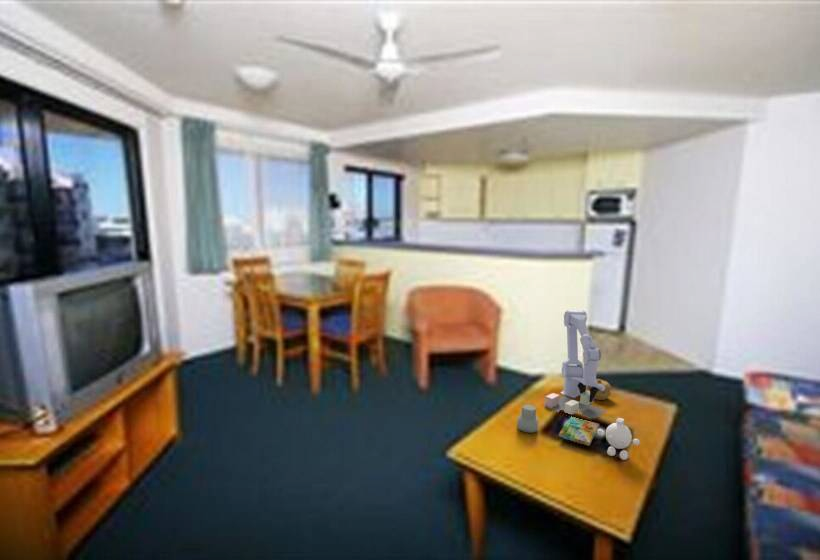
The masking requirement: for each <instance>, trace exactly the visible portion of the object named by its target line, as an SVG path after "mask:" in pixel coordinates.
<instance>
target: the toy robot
mask: <svg viewBox="0 0 820 560" xmlns="http://www.w3.org/2000/svg"><path fill="white" fill-rule="evenodd" d="M624 422H625V419H624V418H621V417H617V418H616V421H615V422H613V423H611V424H609V425H608V426H607V427H606V430H605V433H604V430H603V429H601V428H598V430H597V432H596V434H597V435H598V436H603V435H604V434H605V438H606V441H607V443H608V444H609V445H610V446H609V447H608V448H607V451H606V453H607V455H608V456H611V457H613V456H615V455H616V449H621V451H620V452H619V458H620V459H621V460H623V461H624V460H627V459H628V458H629V453H628V451H627V450H625V449H626V448H628V447H629V446H630V445H631V443H633V445H634V446H639V445H641V441H640V440H639V439H638V438H634V439H632V437H633V435H632V431H631V430H630V429H629V427H628V426H627V425H625V424H624Z"/></svg>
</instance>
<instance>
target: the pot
mask: <svg viewBox="0 0 820 560" xmlns="http://www.w3.org/2000/svg"><path fill="white" fill-rule="evenodd" d="M596 383H599V384H601V385H603V386H605V390H604V391H601V390H600V389H599V390H598V392H597V393H596V395H595V397H594V400H597V401H602V400H603V401H604V400H607V399H608V398H609V397H610V396H611V393H612V392H611V390H612V386H611V384H610V383H609V382H608V381H606V380H605V379H604V380H603V379H600V378H596ZM590 388H592V387H590V386H587V387H586V391H587V390H588V391H590Z"/></svg>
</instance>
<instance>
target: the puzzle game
mask: <svg viewBox="0 0 820 560" xmlns="http://www.w3.org/2000/svg"><path fill="white" fill-rule="evenodd" d="M598 429H600V423H597V422H593V421H587V420H583V419H579V418H576V417H572V416H571V417H570V416H569V419H567V421H566V423H565V424H564V425H563V427H562V429H561V430H560V431H559V433H558V437H560V438H562V439H564V440H566V439H567V441H569V440H570V442H572V441H573V443H576V442H577V443H576V444H579V443H580V445H582V444H584V445H583V446H585V445H587V446H586V447H588V446H589V447H590V445H591V443H592V441H593V439H594V437H595V436H596V434H597V430H598Z"/></svg>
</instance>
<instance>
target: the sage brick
mask: <svg viewBox="0 0 820 560" xmlns="http://www.w3.org/2000/svg"><path fill="white" fill-rule="evenodd" d="M579 396H580V399H579V401H580V403H581V404H584V405H591V404H592V403H594V401H595V399H593V402H590V391H588V390H587V391H585V392H583V393H582V394H581V395H579Z"/></svg>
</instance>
